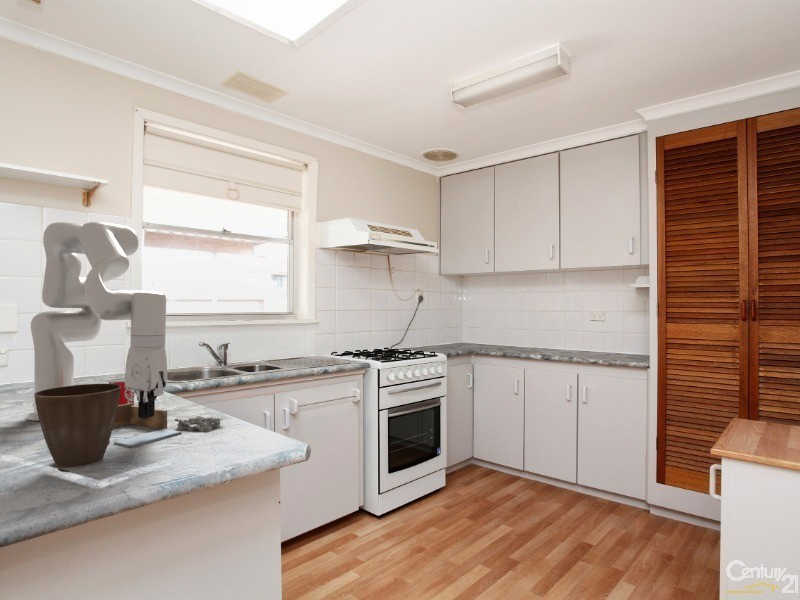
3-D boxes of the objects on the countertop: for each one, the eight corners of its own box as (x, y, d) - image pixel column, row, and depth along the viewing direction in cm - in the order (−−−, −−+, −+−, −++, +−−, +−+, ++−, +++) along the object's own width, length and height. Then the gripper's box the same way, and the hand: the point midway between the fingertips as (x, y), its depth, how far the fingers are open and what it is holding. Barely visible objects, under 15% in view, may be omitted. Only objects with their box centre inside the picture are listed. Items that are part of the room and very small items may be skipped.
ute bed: (68, 441, 116) (68, 415, 116) (130, 426, 130) (131, 403, 130) (109, 451, 108) (109, 422, 108) (171, 434, 123) (171, 409, 123)
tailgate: (114, 441, 110) (131, 445, 107) (164, 428, 122) (181, 431, 119) (114, 446, 110) (131, 450, 107) (164, 432, 122) (181, 436, 119)
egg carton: (172, 434, 124) (172, 418, 124) (194, 427, 131) (194, 412, 131) (204, 438, 120) (204, 422, 120) (225, 430, 127) (225, 415, 127)
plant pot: (22, 484, 88) (23, 398, 89) (45, 460, 102) (46, 386, 102) (115, 472, 94) (115, 392, 95) (125, 451, 108) (125, 381, 108)
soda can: (120, 425, 131) (121, 382, 131) (99, 424, 133) (99, 381, 133) (139, 419, 138) (140, 378, 138) (119, 418, 140) (119, 377, 140)
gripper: (113, 341, 115) (112, 416, 115) (153, 345, 108) (152, 425, 109) (142, 339, 122) (141, 410, 122) (182, 343, 115) (180, 418, 115)
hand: (146, 417), depth 115 cm, fingers closed
